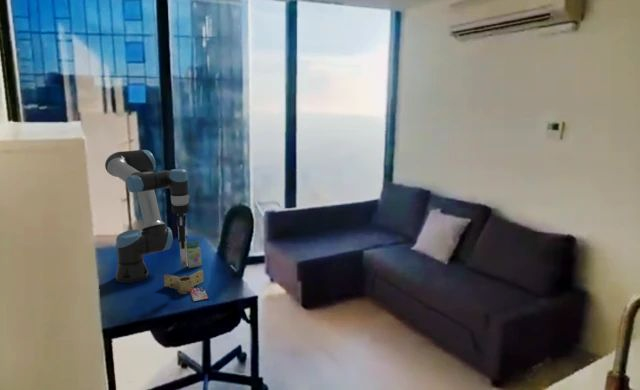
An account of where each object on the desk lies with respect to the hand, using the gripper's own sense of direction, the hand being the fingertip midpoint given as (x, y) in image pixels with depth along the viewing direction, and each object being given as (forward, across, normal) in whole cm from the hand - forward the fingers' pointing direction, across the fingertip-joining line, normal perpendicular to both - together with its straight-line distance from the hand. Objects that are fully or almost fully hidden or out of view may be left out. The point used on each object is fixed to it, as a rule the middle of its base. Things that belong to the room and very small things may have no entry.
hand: (183, 253), depth 208 cm
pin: (+6, 0, 0) cm, 6 cm away
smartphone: (+19, -5, -6) cm, 21 cm away
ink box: (+19, +31, -4) cm, 36 cm away
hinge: (+19, +6, -1) cm, 20 cm away
